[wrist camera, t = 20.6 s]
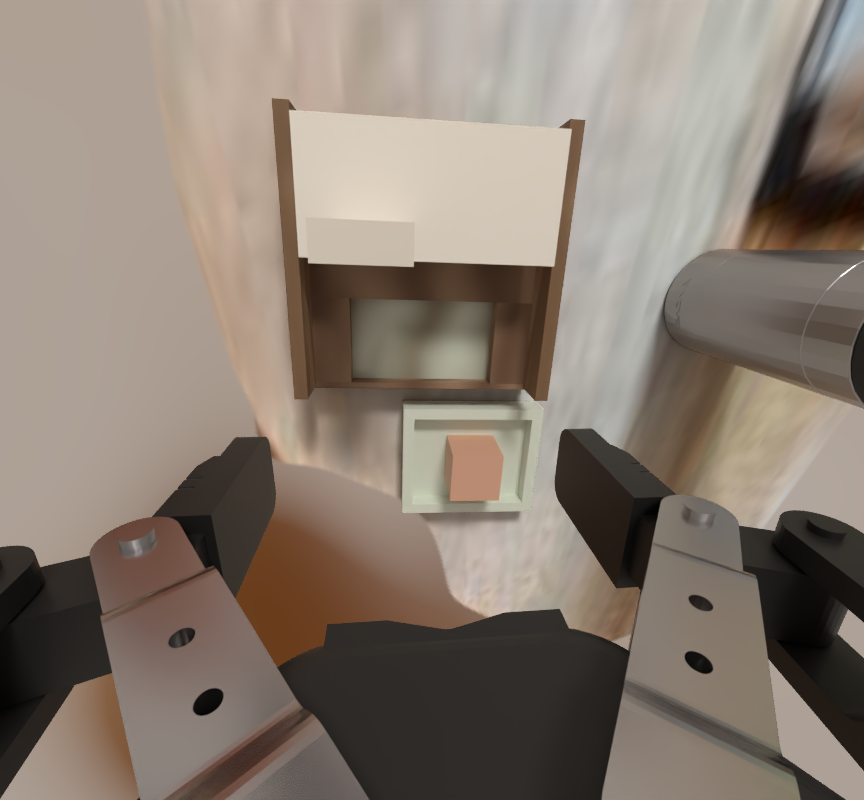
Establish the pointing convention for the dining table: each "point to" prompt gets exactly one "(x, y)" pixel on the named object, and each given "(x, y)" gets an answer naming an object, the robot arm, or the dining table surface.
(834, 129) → the dining table surface
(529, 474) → the sage tray
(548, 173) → the cover
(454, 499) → the terracotta block
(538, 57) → the dining table surface
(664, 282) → the dining table surface
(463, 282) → the brown wooden box
